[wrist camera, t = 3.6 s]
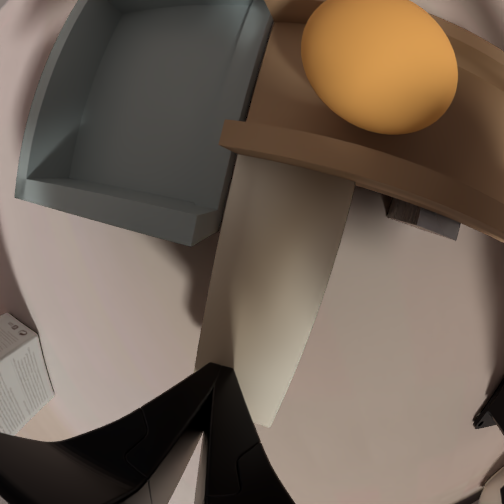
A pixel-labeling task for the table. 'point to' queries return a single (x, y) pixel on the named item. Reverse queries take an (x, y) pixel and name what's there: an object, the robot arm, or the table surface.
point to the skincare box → (20, 375)
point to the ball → (380, 64)
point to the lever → (331, 197)
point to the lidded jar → (493, 489)
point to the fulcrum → (423, 219)
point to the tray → (143, 113)
